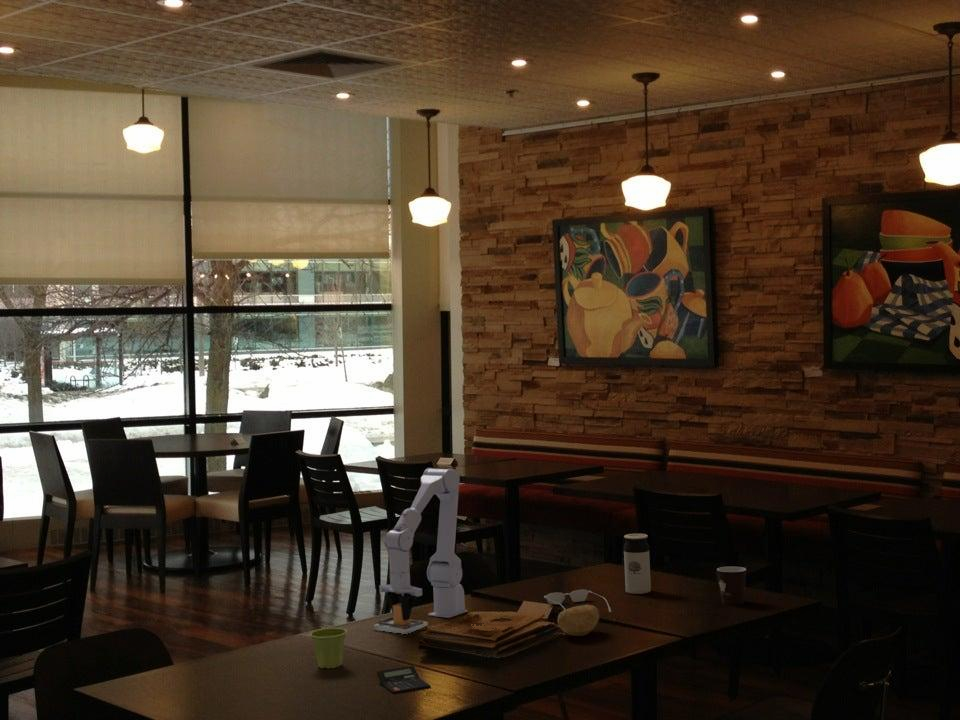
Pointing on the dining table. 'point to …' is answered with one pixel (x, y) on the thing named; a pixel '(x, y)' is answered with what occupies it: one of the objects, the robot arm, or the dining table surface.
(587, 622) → the potato
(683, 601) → the dining table surface
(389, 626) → the console plate
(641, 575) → the travel mug
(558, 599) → the eyeglasses
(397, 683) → the calculator
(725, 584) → the coffee mug
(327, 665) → the plant pot
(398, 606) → the tan upright block
